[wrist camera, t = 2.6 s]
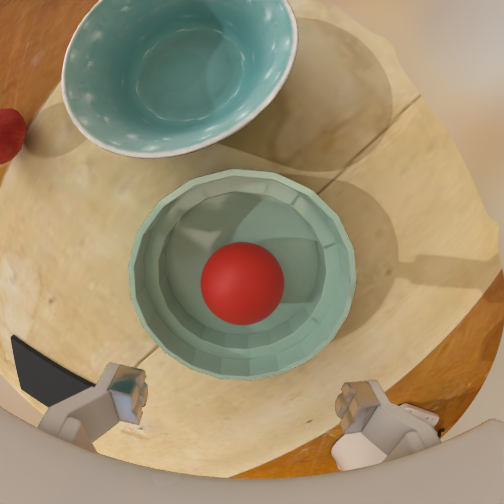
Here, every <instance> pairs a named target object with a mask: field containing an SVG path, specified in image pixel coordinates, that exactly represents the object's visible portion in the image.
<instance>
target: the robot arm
mask: <svg viewBox="0 0 504 504" xmlns="http://www.w3.org/2000/svg"><path fill="white" fill-rule="evenodd" d="M145 378H146V374H145V371H144V370H142V369H137V368H133V367H129V366H125V365H120V364H116V363H112V362H110V363H108V364H107V366H106V368H105V369H104V371H103V373H102V375H101V377H100V378H99V380H98V382H97V384H96V386H95V387H90V388H88V389H86V390H84V391H82V392H80V393H77V394H75V395H73V396H71V397H69V398H67V399H65V400H63V401H61V402H59V403H57V404H55V405H53V406H51V407H49V408H48V410H47V412H46V413H45V415H44V417H43V418H42V420H41V422H40V424H39V425H38V427H35V426H33V425H31V424H29V423H27V422H26V421H24V420H22V419H20V418H19V417H17V416H15V415H13V414H12V413H10V412H8V411H7V410H5V409H3V408H2V407H0V504H504V422H502V421H500V420H496V419H489V420H487V421H485V422H483V423H482V424H480V425H478V426H476V427H474V428H472V429H470V430H468V431H466V432H464V433H462V434H460V435H458V436H456V437H453V438H451V439H449V440H447V441H444V442H441V441H440V439H439V438H440V436H441V432H444V431H445V429H440V430H439V431H438V436H437V432H436V430H435V429H434V427H435V425H436V424H437V422H438V420H439V416H438V414H435V413H433V412H430V411H427V410H424V409H421V408H418V407H416V406H413V405H410V404H408V403H404V404H402V405H400V406H397V405H396V404H394V403H390V401H389V399H388V398H387V396H386V394H385V393H384V391H383V389H382V387H381V386H380V384H379V382H378V381H377V380H368V381H358V382H346V383H344V384H343V386H342V388H341V390H342V393H341V394H340V395H338V397H337V399H336V402H335V411H336V414H337V416H338V417H340V418H341V419H342V420H341V422H340V425H341V428H342V431H343V433H344V434H345V435H344V436H342V437H341V438H340V439H339V440H338V441H337V442H336V443H335V444H334V446H333V448H332V450H331V455H332V457H333V458H334V459H335V461H336V462H337V463H336V465H337V467H338V469H340V470H341V471H342V472H336V473H329V474H322V475H314V476H305V477H293V478H275V479H238V478H219V477H207V476H198V475H190V474H183V473H176V472H170V471H165V470H159V469H154V468H150V467H145V466H141V465H137V464H133V463H129V462H125V461H122V460H118V459H115V458H111V457H108V456H105V455H102V454H99V453H97V451H96V449H95V447H94V446H93V444H92V442H94V441H95V440H96V439H98V438H99V437H100V436H102V435H103V434H104V433H106V432H107V431H108V430H109V429H111V428H112V427H113V426H115V425H116V424H117V423H118V422H119V421H123V422H128V423H132V424H137V425H139V423H140V420H141V417H142V414H143V412H142V407H143V406H145V405H146V401H147V396H148V387H147V384H146V383H145V382H144V381H145Z"/></svg>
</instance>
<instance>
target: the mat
mask: <svg viewBox="0 0 504 504" xmlns="http://www.w3.org/2000/svg"><path fill="white" fill-rule="evenodd" d="M11 343H12V349H13V354H14V359H15V364H16V369H17V374H18V378H19V382H20V386H21V389H22V390H23V391H25V392H26V393H28V394H29V395H31V396H32V397H34V398H35V399H37V400H38V401H40V402H41V403H43V404H44V405H46V406H47V407H51V406H53V405H55V404H57V403H59V402H61V401H63V400H65V399H67V398H69V397H71V396H73V395H75V394H77V393H80V392H82V391H84V390H86V389H88V388H90V387H95V386H96V385H95V384H93V383H91V382H89V381H87V380H85V379H83V378H81V377H79V376H77V375H75V374H74V373H72V372H70V371H68V370H66V369H65V368H63V367H61V366H60V365H58V364H56V363H55V362H53V361H51V360H50V359H48V358H46V357H45V356H43V355H42V354H40V353H39V352H37V351H36V350H34V349H33V348H31V347H30V346H28V345H27V344H25V343H24V342H23V341H21V340H20V339H18V338H17V337H16V336H14V335H13V336H11Z"/></svg>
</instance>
